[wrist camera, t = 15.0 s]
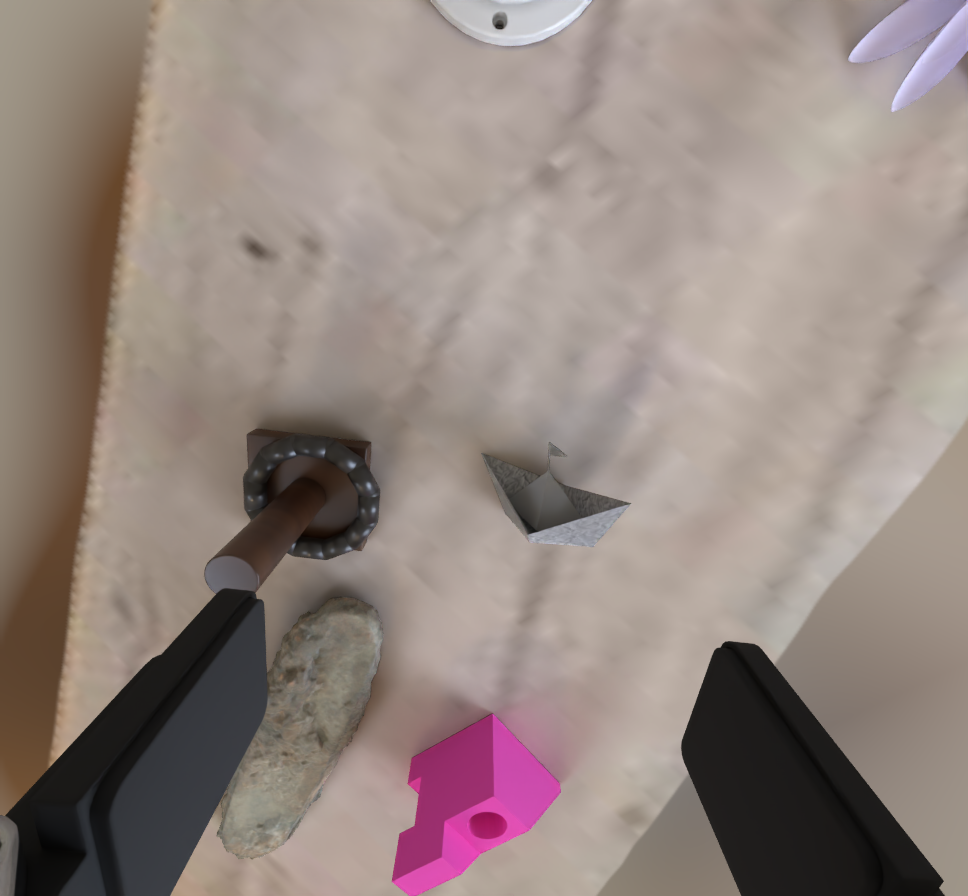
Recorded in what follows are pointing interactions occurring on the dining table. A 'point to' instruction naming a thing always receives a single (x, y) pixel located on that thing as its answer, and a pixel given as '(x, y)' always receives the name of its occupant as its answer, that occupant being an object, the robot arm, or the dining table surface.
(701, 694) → the robot arm
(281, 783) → the long grey stone
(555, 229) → the dining table surface
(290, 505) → the peg stand
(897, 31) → the water lily
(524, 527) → the paper boat
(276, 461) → the hoop
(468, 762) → the bracket
